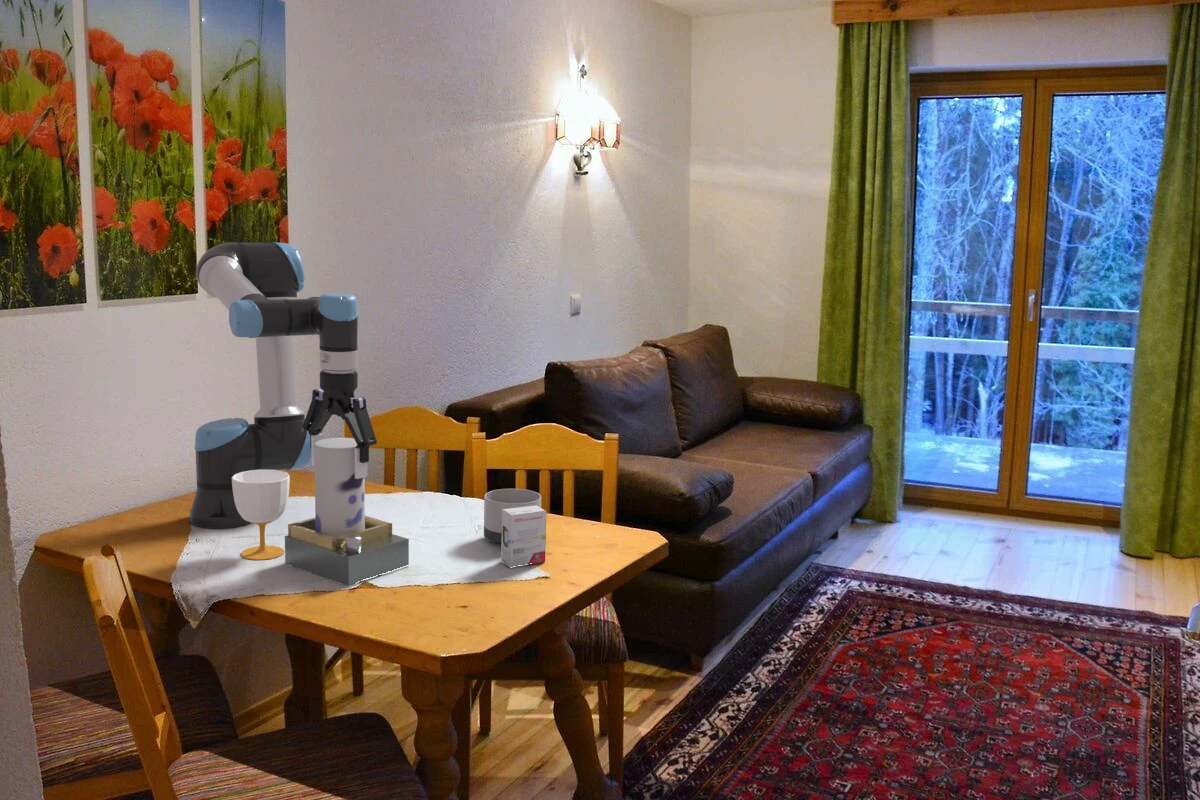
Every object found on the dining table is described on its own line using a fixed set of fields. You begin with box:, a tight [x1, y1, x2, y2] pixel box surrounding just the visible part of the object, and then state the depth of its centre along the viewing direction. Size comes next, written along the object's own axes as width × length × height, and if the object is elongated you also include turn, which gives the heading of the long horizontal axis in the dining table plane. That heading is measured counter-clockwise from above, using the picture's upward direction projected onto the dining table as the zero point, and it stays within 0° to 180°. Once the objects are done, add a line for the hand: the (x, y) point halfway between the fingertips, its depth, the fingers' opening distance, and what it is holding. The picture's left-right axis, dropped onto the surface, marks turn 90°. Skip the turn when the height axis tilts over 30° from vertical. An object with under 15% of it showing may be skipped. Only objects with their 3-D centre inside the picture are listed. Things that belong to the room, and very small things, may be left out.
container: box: [314, 437, 366, 537], centre depth 228 cm, size 10×10×20 cm
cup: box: [232, 470, 291, 561], centre depth 233 cm, size 12×12×17 cm
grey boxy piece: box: [284, 515, 410, 587], centre depth 228 cm, size 20×16×9 cm
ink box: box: [500, 505, 547, 568], centre depth 233 cm, size 9×5×12 cm, turn 119°
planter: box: [483, 488, 542, 546], centre depth 248 cm, size 13×13×10 cm
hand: (339, 471), depth 227 cm, fingers open, 13 cm apart
